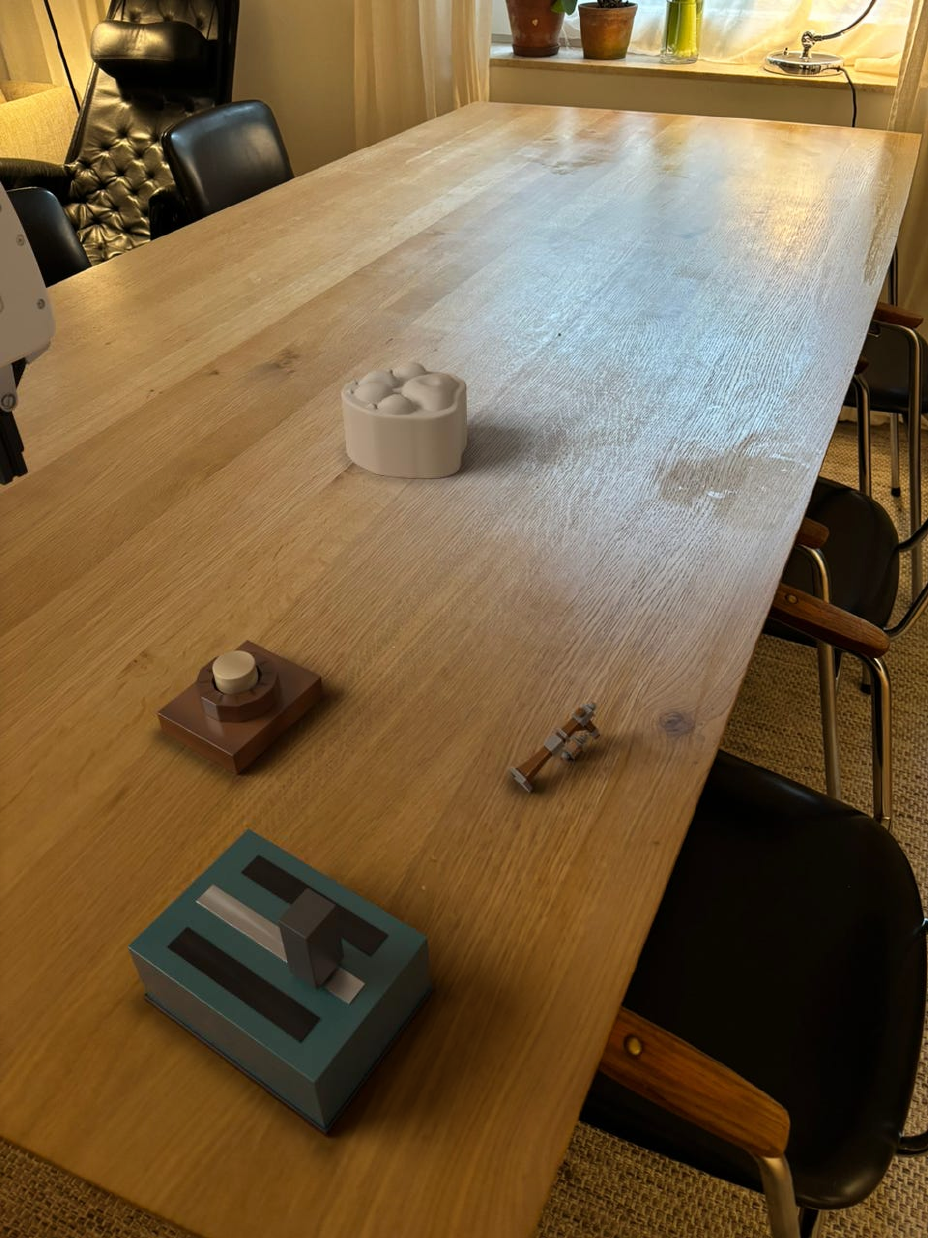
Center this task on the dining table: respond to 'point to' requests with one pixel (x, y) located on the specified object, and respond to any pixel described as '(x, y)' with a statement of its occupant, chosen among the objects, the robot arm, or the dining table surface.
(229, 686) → the button
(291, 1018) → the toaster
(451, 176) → the dining table surface
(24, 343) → the robot arm
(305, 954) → the slider
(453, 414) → the lumpy-topped squat cylinder
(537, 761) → the wooden post with brackets
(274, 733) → the control block
